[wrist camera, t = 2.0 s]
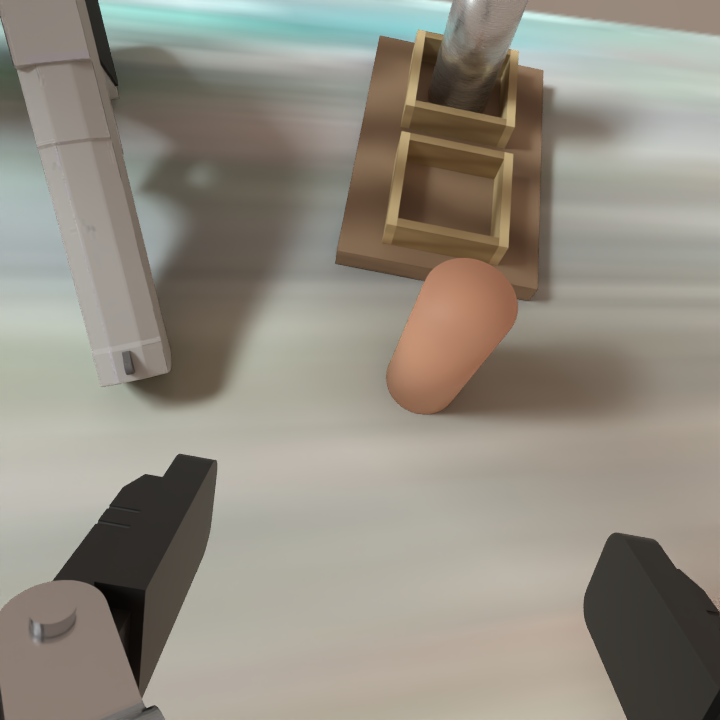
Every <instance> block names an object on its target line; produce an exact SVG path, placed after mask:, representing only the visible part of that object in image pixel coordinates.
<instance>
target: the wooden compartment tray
mask: <svg viewBox="0 0 720 720" xmlns="http://www.w3.org/2000/svg"><path fill="white" fill-rule="evenodd" d="M442 39H443V35H441V34H437V33H432V32H427V31H423V30H418V31H417V36H416V40H415V43H412V42H408V41H403V40H398V39H394V38H389V37H384V36H380V37H379V42H378V47H377V52H376V57H375V62H374V67H373V72H372V77H371V82H370V88H369V93H368V98H367V103H366V108H365V113H364V118H363V123H362V128H361V133H360V138H359V143H358V148H357V153H356V158H355V163H354V168H353V173H352V178H351V183H350V188H349V193H348V198H347V203H346V208H345V213H344V218H343V223H342V228H341V233H340V238H339V243H338V248H337V255H336V262H335V263H336V264H341V265H346V266H351V267H357V268H362V269H367V270H372V271H377V272H382V273H388V274H393V275H398V276H403V277H408V278H414V279H419V280H424V281H425V280H426V278H427V276H428V274H429V273H430V272H431V271H432V270H433V269H434V268H435V267H436V266H438V265H439V264H441V263H443V262H445V261H448V260H451V259H456V258H471V259H476V260H480V261H482V262H485V263H487V264H489V265H491V266H493V267H494V268H496V269H497V270H498V271H500V272H501V273H502V274H503V275H504V276H505V277H506V278H507V279H508V281H509V282H510V284H511V285H512V287H513V289H514V291H515V294H516V297H517V299H522V300H527V301H529V299H530V298H531V297H532V296H533V294H534V293H535V292H536V291H537V289H538V255H539V217H540V179H541V142H542V104H543V70H539V69H534V68H530V67H525V66H520V65H518V56H519V51H516V50H511V49H509V50H508V52H507V55H506V57H505V60H504V62H503V65H502V67H501V70H500V72H499V75H498V77H497V80H496V82H495V85H494V87H493V90H492V92H491V95H490V97H489V100H488V102H487V105H486V107H485V110H484V112H483V113H482V114H480V113H475V112H470V111H465V110H461V109H456V108H451V107H446V106H442V105H437V104H432V103H429V100H428V90H429V86H430V83H431V79H432V75H433V72H434V68H435V64H436V61H437V57H438V53H439V50H440V46H441V43H442Z"/></svg>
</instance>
